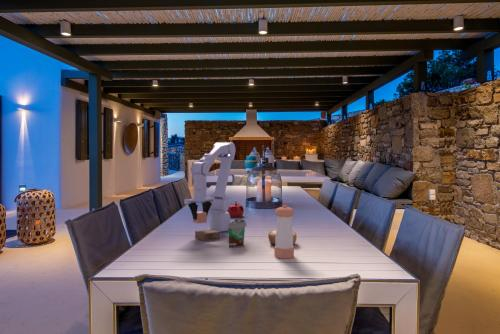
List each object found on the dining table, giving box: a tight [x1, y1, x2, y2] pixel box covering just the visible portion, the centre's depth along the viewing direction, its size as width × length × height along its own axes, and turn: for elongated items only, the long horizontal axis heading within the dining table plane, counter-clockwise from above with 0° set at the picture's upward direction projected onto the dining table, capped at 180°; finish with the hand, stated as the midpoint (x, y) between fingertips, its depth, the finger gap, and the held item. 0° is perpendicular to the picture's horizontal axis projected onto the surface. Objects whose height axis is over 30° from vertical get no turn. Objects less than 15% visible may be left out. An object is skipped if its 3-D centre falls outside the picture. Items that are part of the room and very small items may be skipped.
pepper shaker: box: [273, 204, 295, 260], centre depth 144 cm, size 7×7×19 cm
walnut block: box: [194, 228, 220, 242], centre depth 172 cm, size 8×8×4 cm
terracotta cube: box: [192, 210, 208, 224], centre depth 173 cm, size 4×4×4 cm
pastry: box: [267, 229, 297, 247], centre depth 163 cm, size 12×12×9 cm
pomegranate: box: [226, 200, 245, 218], centre depth 228 cm, size 10×10×9 cm
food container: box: [228, 217, 247, 248], centre depth 161 cm, size 12×6×10 cm, turn 168°
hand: (199, 218), depth 173 cm, fingers closed on terracotta cube, 4 cm apart
